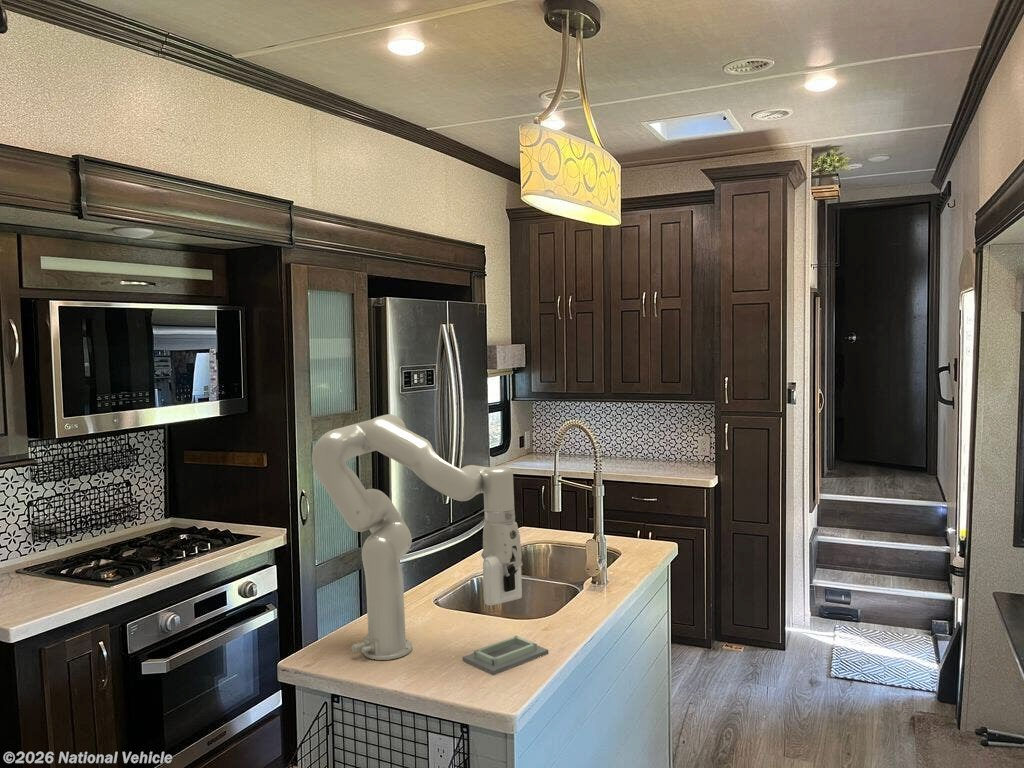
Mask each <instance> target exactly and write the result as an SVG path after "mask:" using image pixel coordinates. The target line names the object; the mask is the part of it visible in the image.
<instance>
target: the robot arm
mask: <svg viewBox="0 0 1024 768" xmlns="http://www.w3.org/2000/svg"><path fill="white" fill-rule="evenodd" d="M375 451H377V452H379V453H380V454H382V455H383V456H386V457H387V458H389V459H392V460H393V461H395V462H397V463H399V464H401V465H402V466H403V467H406V468H408V469H410V470H411V471H412V472H413V473H414V474H415V475H416V476H417V478H419V479H420V480H421V481H423V482H424V483H425V484H426V485H427V486H429V487H431V488H432V489H433V490H435V491H436V492H439V493H441V494H443V495H444V496H446V497H448V498H449V499H452V500H454V501H459V502H467V501H470V500H472V499H473V498H474V497H476V496H477V495H480V494H483V505H484V506H483V508H484V509H483V510H484V513H483V514H484V521H483V522H484V523H483V531H482V553H481V557H482V559H483V560H484V559H486V558H487V557H489V556H491V555H493V556H494V555H495V556H497V558H498V559H499V561H500V563H502V564H503V566H504V571H505V576H504V591H505V592H508V591H512V590H515V574H516V573H517V570H518V569H519V568H520V567H521V568H522V566H523V561H522V554H523V553H522V542H521V536H520V531H519V526H518V523H517V522H516V515H515V514H516V513H515V512H516V511H515V495H514V493H515V491H514V472H513V470H512V468H511V467H509V466H506V465H505V466H501V465H497V466H481V465H475V464H470V465H465V466H463V467H461V468H458V467H457V466H455V465H453V464H451V463H450V462H448V461H446V460H445V459H443V458H442V457H440V456H439V455H438V454H437V453H436V451H435V450H434V447H433V445H432V444H431V442H430V441H429V440H428V439H426V438H424V437H422V436H421V435H418V434H417V433H415V432H413V431H411V430H410V429H408V428H407V427H406V424H405V421H403V420H402V418H400V417H399V416H397V415H395V414H391V413H390V414H389V413H388V414H383V415H379V416H376V417H374V418H372V419H369V420H365V421H361V422H357V423H353V424H350V425H346V426H342V427H339V428H338V427H337V428H334V429H332V430H329V431H327V432H326V433H324V434H322V436H320V438H318V440H317V441H316V443H315V445H314V448H313V451H312V454H311V463H312V468H313V471H314V473H315V476H316V477H317V479H318V481H319V482H320V483H321V484H322V486H323V488H324V489H325V490H326V492H327V494H328V496H329V497H330V499H331V501H332V502H333V504H334V505H335V507H336V508H337V510H338V512H339V513H340V515H341V517H342V519H343V520H344V521H345V523H346V524H347V526H348V527H349V528H350V529H351V530H352V531H355V532H365V531H368V530H369V531H370V533H371V534H370V535H369V536H368V537H367V538H366V539H365V540H364V542H363V545H362V548H361V559H362V560H361V561H362V565H363V571H364V577H365V591H366V592H365V593H366V610H367V611H366V613H367V614H366V615H367V635H365V636H364V640H362V641H361V642H357V643H354V644H352V645H351V651H352V653H358V652H360V651H361V653H363V656H364V657H365V658H368V659H371V660H374V659H375V660H374V661H376V660H377V661H386V660H387V661H388V660H394V659H399V658H402V657H404V656H406V655H408V654H410V653H411V652H412V650H413V643H412V641H410V640H409V639H407V637H406V636H407V635H406V616H405V614H406V613H405V592H404V591H405V590H404V578H403V577H404V576H403V572H402V568H401V567H402V566H401V562H400V561H401V559H402V558H403V557H404V556H405V555H406V554H407V553H408V552H409V551H410V549H411V546H412V543H413V542H412V541H413V538H412V534H411V531H410V529H409V527H408V525H407V523H405V521H404V519H403V517H402V516H401V514H400V513H399V511H398V509H397V508H396V507H395V505H394V504H393V501H392V500H391V498H389V496H388V495H386V494H385V492H383V491H381V490H380V489H375V488H368V489H366V488H365V486H364V485H363V484H362V482H361V481H360V479H359V477H358V475H357V474H356V473H355V472H354V471H353V470H352V469H351V468H350V467H349V466H348V464H347V461H348V460H350V459H353V458H355V457H358V456H361V455H365V454H368V453H371V452H375ZM508 565H511V567H510V569H509V567H508Z"/></svg>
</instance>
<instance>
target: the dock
mask: <svg viewBox="0 0 1024 768" xmlns="http://www.w3.org/2000/svg"><path fill="white" fill-rule="evenodd" d="M548 654H549V649H547V648H545V647H542V646H540V645H538V643H535V642H532V641H530V640H528V639H526V638H522V637H520V636H517V635H515V636H511V637H509V638H506V639H503V640H501V641H498V642H494V643H492V644H490V645H489V644H488V645H486V646H483V647H481V648H478V649H475V650H473V652H472V653H469V654H467V655H464V656H462V662H465V663H467V664H469V665H471V666H473V667H475V668H478V669H480V670H482V671H484V672H486V673H488V674H489V675H492V676H495V675H497V674H500V673H503V672H505V671H508V670H510V669H513V668H515V667H518V666H520V665H523V664H526V663H528V662H532V661H533V660H535V659H539V658H541V657H543V655H544V656H546V655H548ZM540 656H541V657H540ZM538 657H539V658H538Z"/></svg>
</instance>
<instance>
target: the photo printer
mask: <svg viewBox="0 0 1024 768" xmlns="http://www.w3.org/2000/svg"><path fill="white" fill-rule="evenodd" d="M482 562H483V563H482V575H483V576H482V577H483V578H482V579H483V581H482V582H483V601H484V603H485V604H484V605H487V606H495V605H500V604H504V603H507V602H512V601H515V600H520V599H521V598H522V597H523V588H522V586H523V585H522V583H523V582H522V580H523V579H522V566H521V567H520V568H519V569H518V570H517V573H516V574H515V590H512V591H508V592H505V591H504V576H505V571H504V566H503V564H502V563H500V561H499V559H498V558H497V556H495V555H494V556H493V555H491V556H489V557H487V558H486V559H483V561H482ZM508 567H509V569H510V567H511V565H508Z"/></svg>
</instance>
